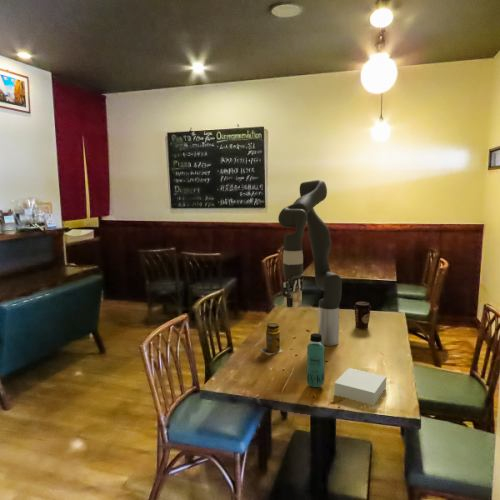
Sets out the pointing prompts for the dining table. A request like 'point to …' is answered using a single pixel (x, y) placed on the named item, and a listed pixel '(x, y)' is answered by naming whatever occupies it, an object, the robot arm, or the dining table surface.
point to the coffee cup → (362, 315)
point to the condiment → (272, 339)
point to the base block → (360, 386)
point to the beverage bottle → (315, 361)
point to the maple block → (295, 300)
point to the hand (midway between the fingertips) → (293, 304)
